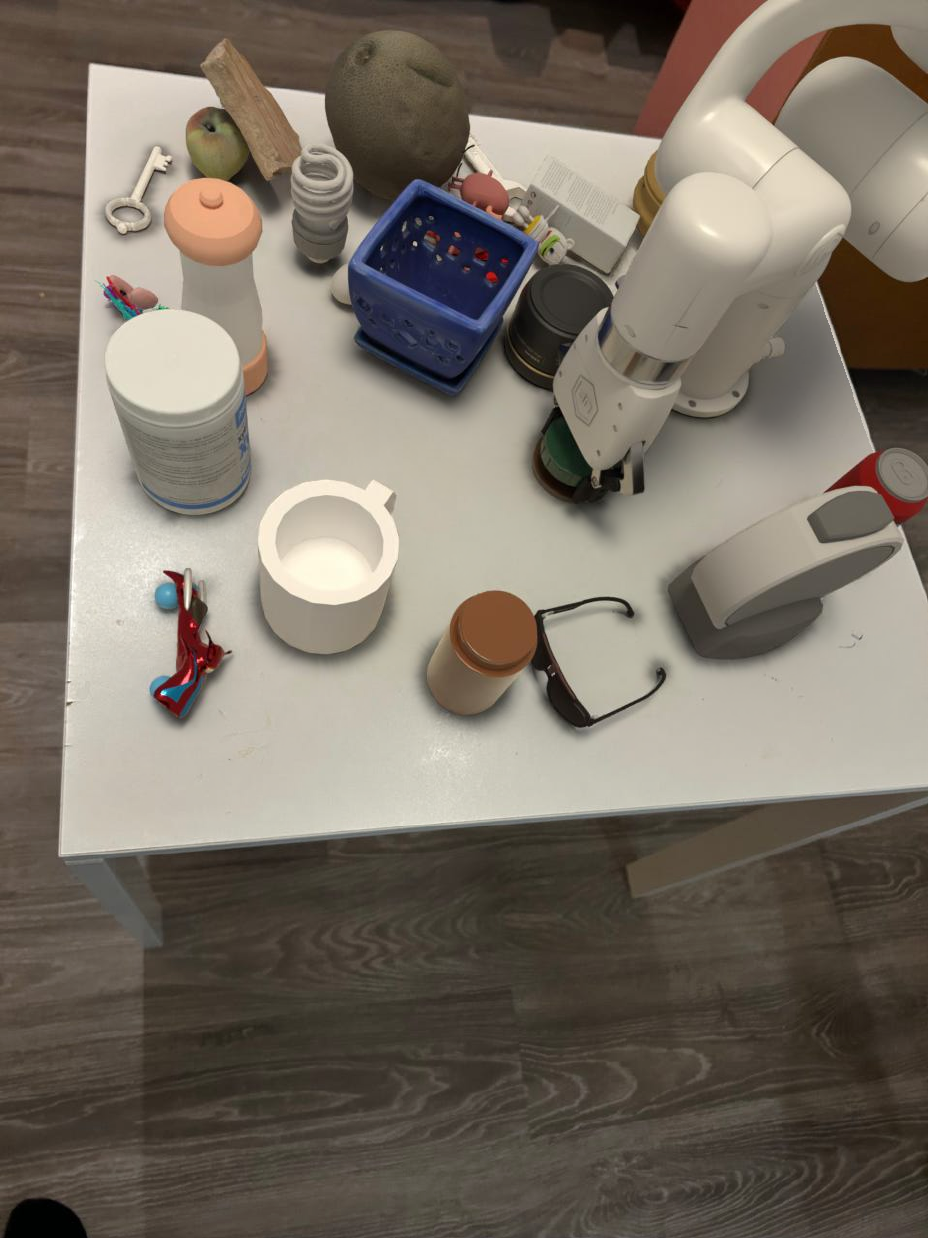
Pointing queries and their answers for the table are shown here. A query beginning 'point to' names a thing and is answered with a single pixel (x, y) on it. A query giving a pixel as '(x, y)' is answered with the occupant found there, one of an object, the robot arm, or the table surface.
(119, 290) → the anatomy model
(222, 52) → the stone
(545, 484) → the coaster
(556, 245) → the toy
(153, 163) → the key
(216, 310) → the salt shaker
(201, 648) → the hoverbike
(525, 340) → the jar
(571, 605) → the sunglasses
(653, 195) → the pot
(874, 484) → the beverage can
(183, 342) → the supplement tub
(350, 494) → the mug
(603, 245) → the cosmetic box
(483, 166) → the wrench
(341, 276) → the egg
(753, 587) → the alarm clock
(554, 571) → the table surface
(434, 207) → the flower pot
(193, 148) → the apple
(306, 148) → the light bulb
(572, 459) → the lid
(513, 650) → the jam jar
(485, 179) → the figurine
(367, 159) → the cantaloupe
